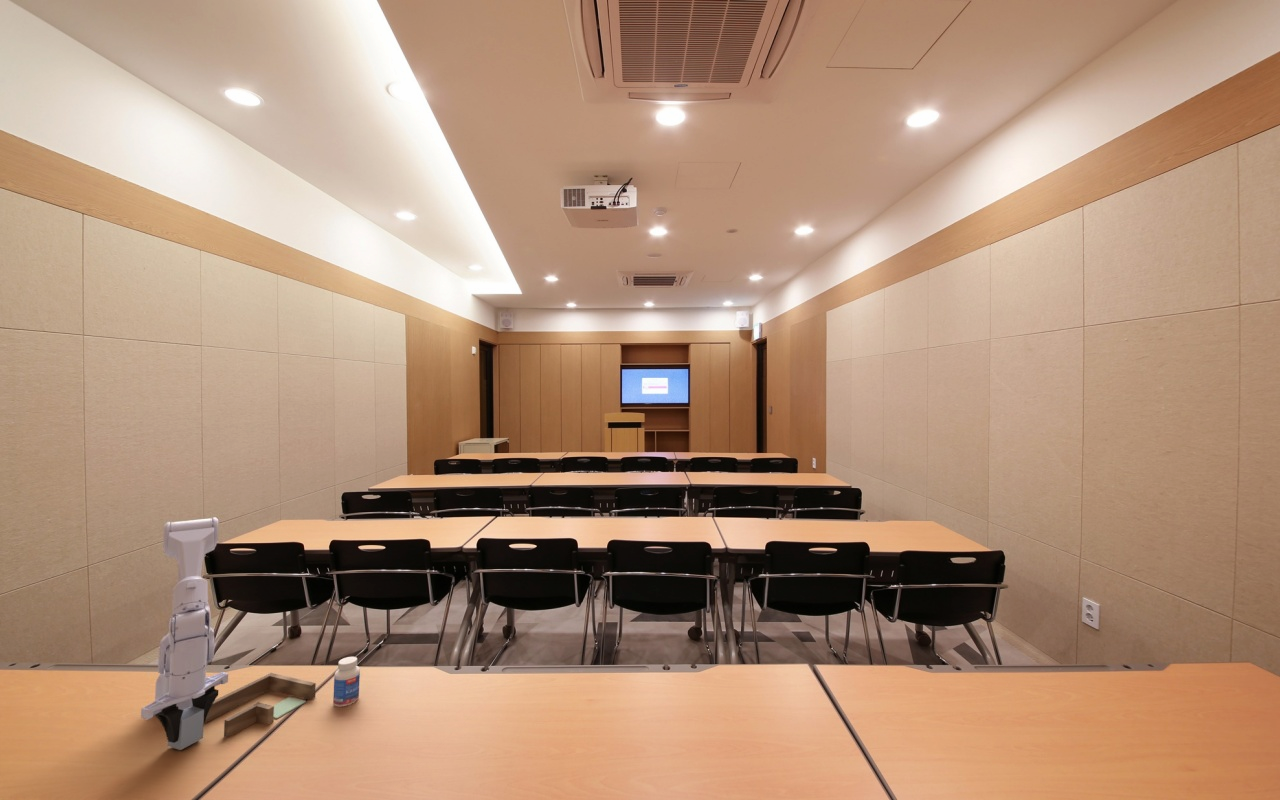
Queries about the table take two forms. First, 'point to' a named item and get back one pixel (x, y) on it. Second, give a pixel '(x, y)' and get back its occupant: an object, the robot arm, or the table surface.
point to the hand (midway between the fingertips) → (185, 734)
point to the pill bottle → (346, 682)
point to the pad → (286, 706)
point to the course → (258, 710)
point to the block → (189, 728)
